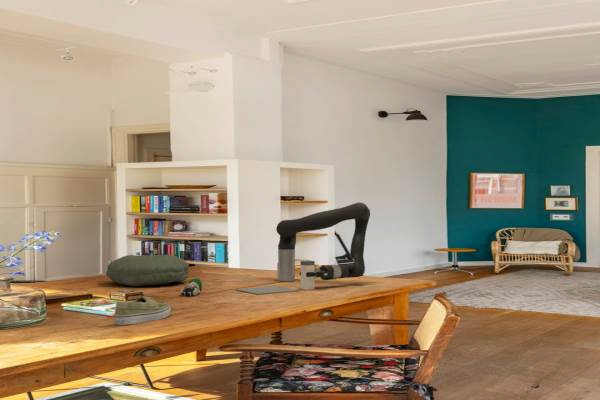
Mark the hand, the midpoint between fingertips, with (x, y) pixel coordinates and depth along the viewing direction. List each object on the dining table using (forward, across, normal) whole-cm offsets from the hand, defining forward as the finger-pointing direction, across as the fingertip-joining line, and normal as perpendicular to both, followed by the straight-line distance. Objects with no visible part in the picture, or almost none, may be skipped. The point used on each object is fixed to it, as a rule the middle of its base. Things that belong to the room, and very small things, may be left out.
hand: (303, 274), depth 365 cm
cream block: (-3, 0, +8) cm, 8 cm away
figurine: (-45, -48, +8) cm, 66 cm away
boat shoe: (+101, +39, +8) cm, 108 cm away
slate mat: (+17, -6, +8) cm, 20 cm away
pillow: (+52, -66, +8) cm, 85 cm away
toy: (+54, -14, +8) cm, 56 cm away
